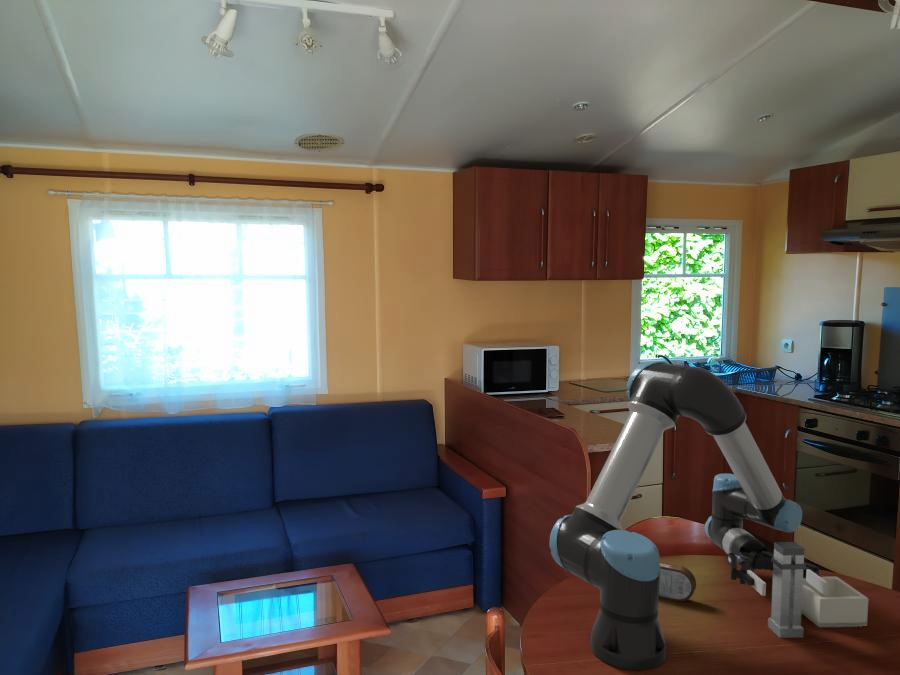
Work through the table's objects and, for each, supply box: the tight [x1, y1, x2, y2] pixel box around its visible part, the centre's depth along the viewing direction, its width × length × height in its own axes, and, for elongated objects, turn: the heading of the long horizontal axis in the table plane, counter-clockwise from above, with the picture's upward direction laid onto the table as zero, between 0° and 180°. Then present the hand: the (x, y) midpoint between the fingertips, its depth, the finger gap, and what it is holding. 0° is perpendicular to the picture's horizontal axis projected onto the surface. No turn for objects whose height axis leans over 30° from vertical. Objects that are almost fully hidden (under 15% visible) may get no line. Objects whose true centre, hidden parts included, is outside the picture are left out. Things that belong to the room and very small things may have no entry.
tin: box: [659, 560, 697, 602], centre depth 157 cm, size 15×3×8 cm, turn 63°
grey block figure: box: [767, 541, 806, 639], centre depth 140 cm, size 5×5×20 cm
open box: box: [801, 576, 869, 628], centre depth 148 cm, size 11×11×6 cm
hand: (795, 589), depth 137 cm, fingers open, 13 cm apart
